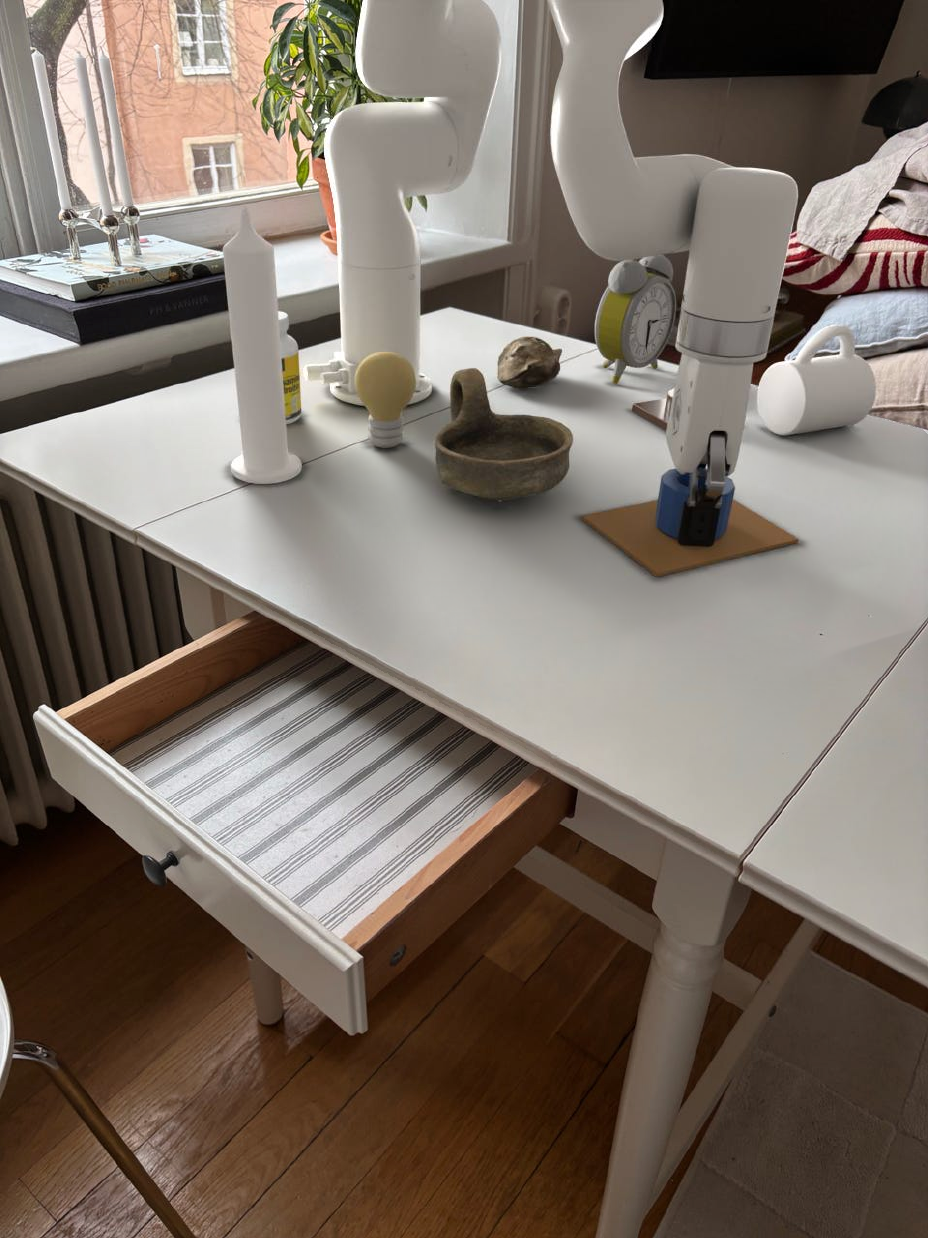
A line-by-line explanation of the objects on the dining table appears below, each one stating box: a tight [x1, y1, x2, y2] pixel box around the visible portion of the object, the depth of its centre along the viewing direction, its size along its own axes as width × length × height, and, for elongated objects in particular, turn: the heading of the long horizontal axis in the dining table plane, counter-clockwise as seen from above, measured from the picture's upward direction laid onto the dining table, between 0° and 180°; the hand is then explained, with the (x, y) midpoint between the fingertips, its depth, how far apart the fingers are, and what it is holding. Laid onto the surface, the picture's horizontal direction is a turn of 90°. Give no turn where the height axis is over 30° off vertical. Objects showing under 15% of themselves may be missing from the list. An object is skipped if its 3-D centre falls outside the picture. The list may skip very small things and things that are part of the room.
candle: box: [222, 206, 303, 485], centre depth 91 cm, size 7×7×25 cm
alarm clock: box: [594, 254, 677, 385], centre depth 124 cm, size 12×7×15 cm, turn 137°
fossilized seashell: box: [496, 336, 563, 390], centre depth 122 cm, size 8×7×10 cm
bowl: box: [434, 367, 574, 503], centre depth 94 cm, size 14×18×10 cm
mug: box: [756, 324, 877, 437], centre depth 110 cm, size 8×10×12 cm
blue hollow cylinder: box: [655, 467, 736, 539], centre depth 88 cm, size 6×6×4 cm
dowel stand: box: [631, 388, 674, 431], centre depth 112 cm, size 9×9×8 cm
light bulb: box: [355, 352, 416, 449], centre depth 102 cm, size 6×6×10 cm
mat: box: [581, 498, 800, 578], centre depth 89 cm, size 16×12×1 cm
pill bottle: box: [278, 310, 302, 425], centre depth 107 cm, size 6×6×12 cm
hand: (689, 524), depth 89 cm, fingers closed on blue hollow cylinder, 6 cm apart
